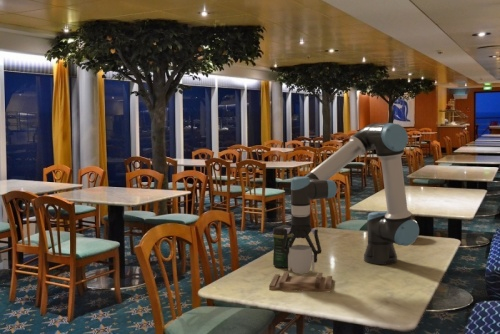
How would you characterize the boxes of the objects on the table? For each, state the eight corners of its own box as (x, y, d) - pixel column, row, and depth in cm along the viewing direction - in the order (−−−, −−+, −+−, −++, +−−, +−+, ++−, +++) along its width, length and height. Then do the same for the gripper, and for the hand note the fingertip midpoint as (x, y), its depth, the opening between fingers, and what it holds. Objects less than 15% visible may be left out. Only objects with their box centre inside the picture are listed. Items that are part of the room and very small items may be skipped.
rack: (332, 279, 229) (332, 273, 229) (330, 291, 214) (330, 284, 213) (275, 277, 234) (274, 271, 234) (269, 289, 218) (269, 282, 218)
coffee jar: (285, 269, 247) (285, 228, 245) (270, 266, 251) (269, 226, 249) (296, 264, 255) (295, 224, 253) (281, 261, 259) (280, 223, 257)
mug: (306, 275, 216) (306, 250, 215) (286, 273, 221) (285, 248, 220) (318, 267, 228) (318, 243, 227) (298, 265, 232) (298, 242, 231)
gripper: (328, 213, 224) (328, 268, 226) (275, 213, 228) (276, 266, 230) (327, 217, 216) (327, 273, 218) (272, 216, 221) (273, 271, 223)
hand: (301, 269), depth 224 cm, fingers closed on mug, 9 cm apart
